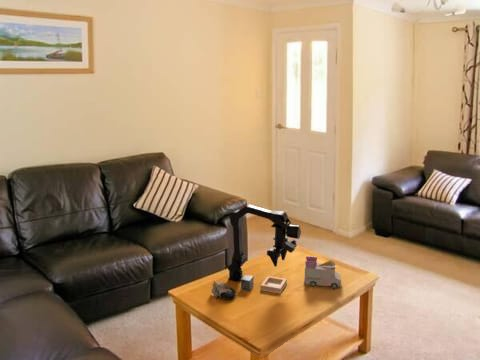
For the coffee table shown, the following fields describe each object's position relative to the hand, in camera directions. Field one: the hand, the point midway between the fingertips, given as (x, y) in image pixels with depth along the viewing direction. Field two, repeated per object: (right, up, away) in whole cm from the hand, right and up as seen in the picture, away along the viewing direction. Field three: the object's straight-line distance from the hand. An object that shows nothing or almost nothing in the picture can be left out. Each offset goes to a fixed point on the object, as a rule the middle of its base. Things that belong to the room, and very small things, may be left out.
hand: (279, 263), depth 248 cm
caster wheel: (-29, -16, -6) cm, 34 cm away
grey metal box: (-17, -14, +3) cm, 22 cm away
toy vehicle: (+24, -13, +5) cm, 27 cm away
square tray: (-3, -13, +3) cm, 14 cm away
